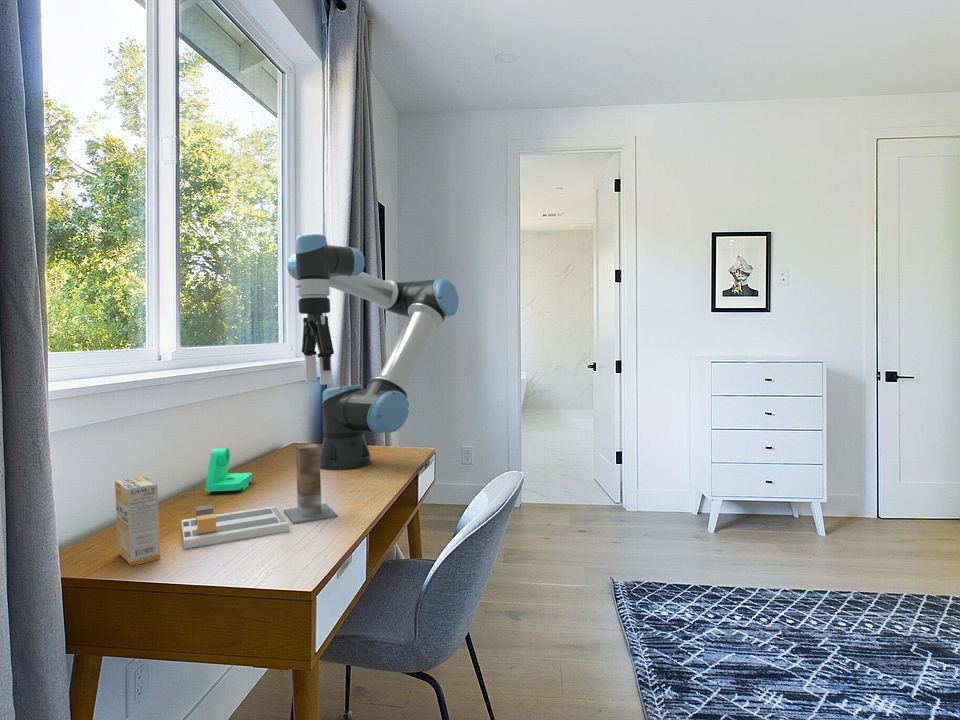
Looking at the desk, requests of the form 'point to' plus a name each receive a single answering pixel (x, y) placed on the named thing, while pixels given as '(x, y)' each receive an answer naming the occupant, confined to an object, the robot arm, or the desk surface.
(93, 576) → the desk surface
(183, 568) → the desk surface
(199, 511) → the tab
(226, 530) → the switch board
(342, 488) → the desk surface
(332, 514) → the mat
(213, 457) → the camera mount
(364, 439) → the robot arm
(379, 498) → the desk surface
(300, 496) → the wooden beam block
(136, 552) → the supplement box
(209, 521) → the tab
